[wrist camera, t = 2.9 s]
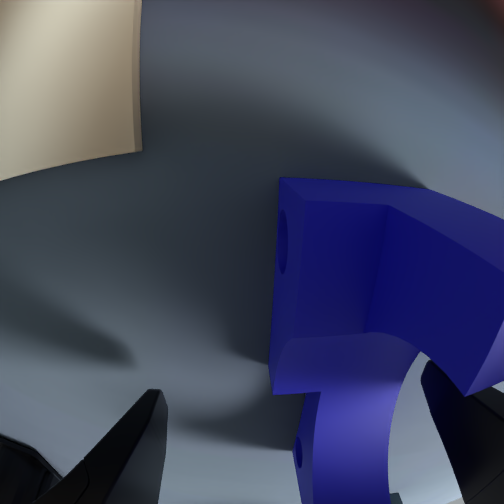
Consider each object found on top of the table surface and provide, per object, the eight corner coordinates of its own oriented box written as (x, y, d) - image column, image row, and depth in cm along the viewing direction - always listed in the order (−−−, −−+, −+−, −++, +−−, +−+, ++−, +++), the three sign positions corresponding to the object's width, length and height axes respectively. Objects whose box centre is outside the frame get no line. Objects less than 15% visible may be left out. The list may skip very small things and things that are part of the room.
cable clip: (278, 176, 7) (400, 293, 2) (425, 188, 8) (594, 270, 2) (260, 450, 12) (271, 562, 6) (351, 440, 12) (382, 540, 6)
